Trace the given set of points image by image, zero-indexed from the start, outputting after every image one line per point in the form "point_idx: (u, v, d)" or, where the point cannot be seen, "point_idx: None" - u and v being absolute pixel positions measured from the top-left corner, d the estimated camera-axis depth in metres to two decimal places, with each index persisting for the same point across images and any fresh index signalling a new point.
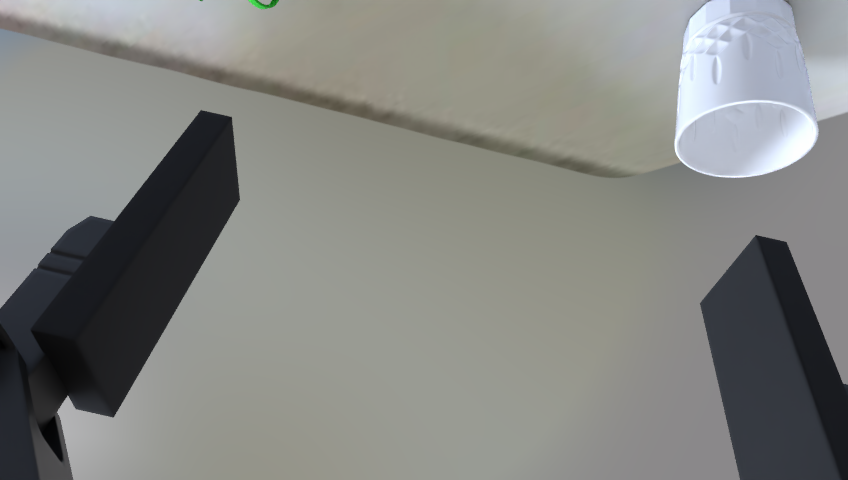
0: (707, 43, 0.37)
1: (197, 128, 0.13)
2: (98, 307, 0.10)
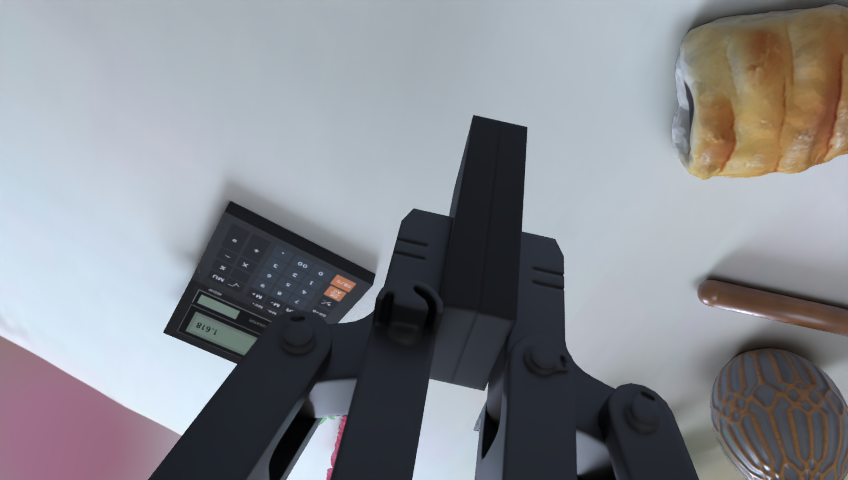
0: None
1: (478, 131, 0.15)
2: (481, 285, 0.12)
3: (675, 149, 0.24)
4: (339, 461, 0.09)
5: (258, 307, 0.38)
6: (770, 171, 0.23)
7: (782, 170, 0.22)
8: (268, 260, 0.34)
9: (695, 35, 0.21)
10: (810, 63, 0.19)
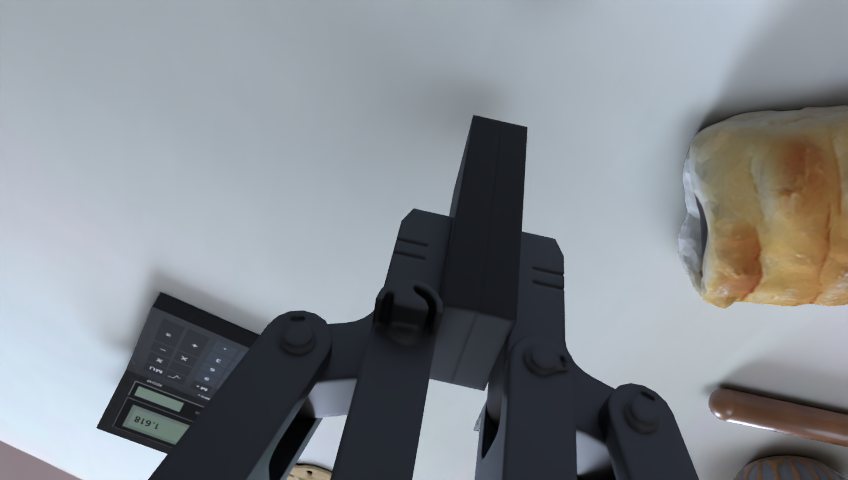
0: None
1: (478, 130, 0.15)
2: (481, 285, 0.12)
3: (683, 262, 0.20)
4: (339, 461, 0.09)
5: (204, 398, 0.33)
6: (804, 303, 0.18)
7: (820, 304, 0.17)
8: (209, 355, 0.30)
9: (709, 140, 0.16)
10: None
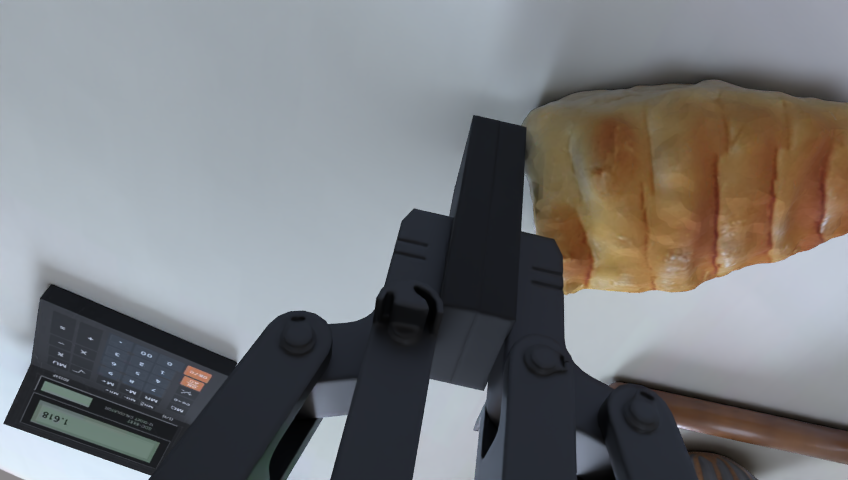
0: None
1: (478, 131, 0.15)
2: (482, 285, 0.12)
3: None
4: (339, 461, 0.09)
5: (113, 393, 0.33)
6: (648, 289, 0.17)
7: (662, 290, 0.17)
8: (107, 348, 0.29)
9: (533, 120, 0.16)
10: (671, 168, 0.14)
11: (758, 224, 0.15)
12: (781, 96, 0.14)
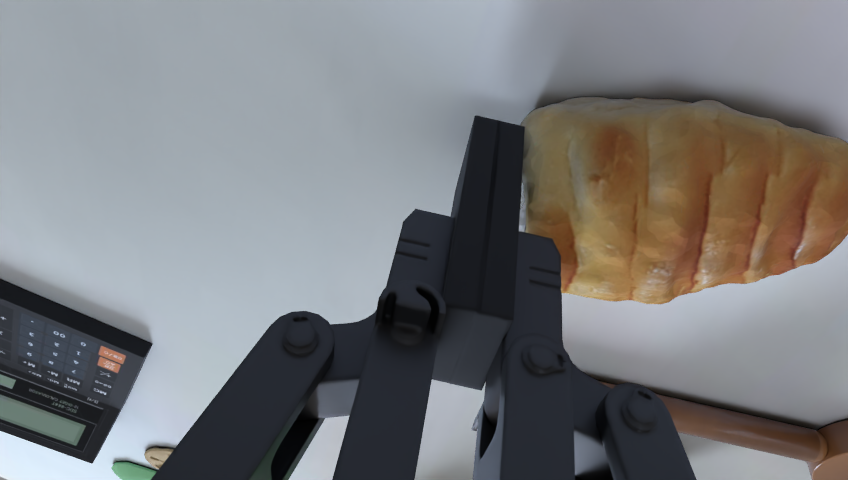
0: None
1: (480, 131, 0.15)
2: (484, 285, 0.12)
3: None
4: (341, 461, 0.09)
5: (36, 375, 0.33)
6: (624, 299, 0.17)
7: (638, 300, 0.17)
8: (21, 328, 0.29)
9: (534, 120, 0.15)
10: (667, 182, 0.14)
11: (740, 246, 0.15)
12: (775, 123, 0.14)
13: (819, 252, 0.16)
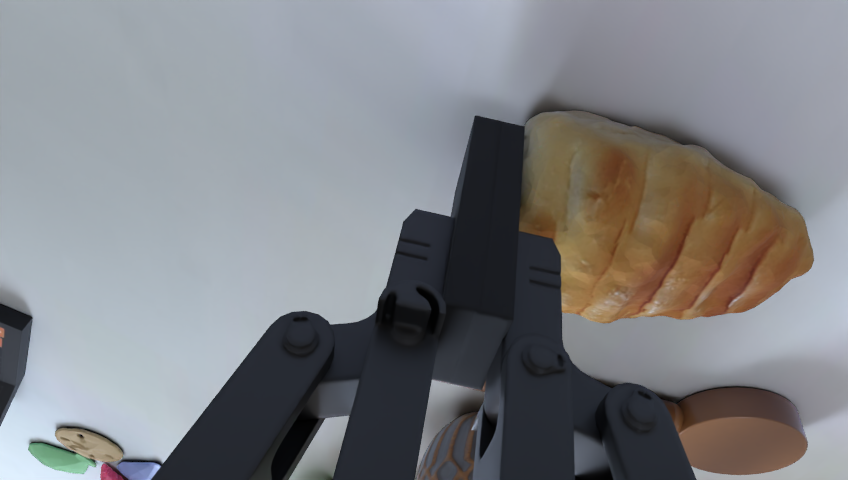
0: None
1: (480, 131, 0.15)
2: (484, 285, 0.12)
3: None
4: (341, 461, 0.09)
5: None
6: (572, 312, 0.18)
7: (585, 316, 0.18)
8: None
9: (544, 123, 0.15)
10: (657, 215, 0.15)
11: (694, 287, 0.16)
12: (752, 183, 0.16)
13: (749, 304, 0.18)
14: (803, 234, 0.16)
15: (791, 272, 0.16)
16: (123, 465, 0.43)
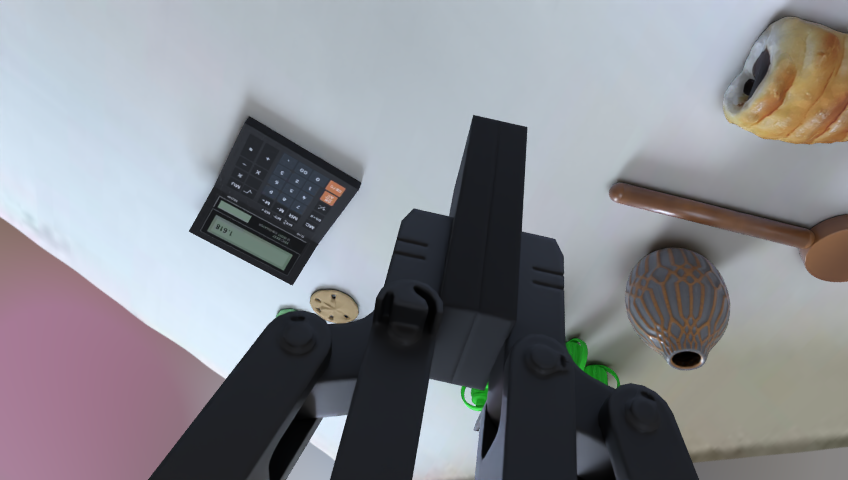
0: None
1: (478, 130, 0.15)
2: (481, 285, 0.12)
3: (725, 101, 0.34)
4: (339, 461, 0.09)
5: (266, 213, 0.47)
6: (784, 135, 0.33)
7: (792, 136, 0.32)
8: (276, 167, 0.44)
9: (790, 20, 0.30)
10: None
11: None
12: None
13: None
14: None
15: None
16: None
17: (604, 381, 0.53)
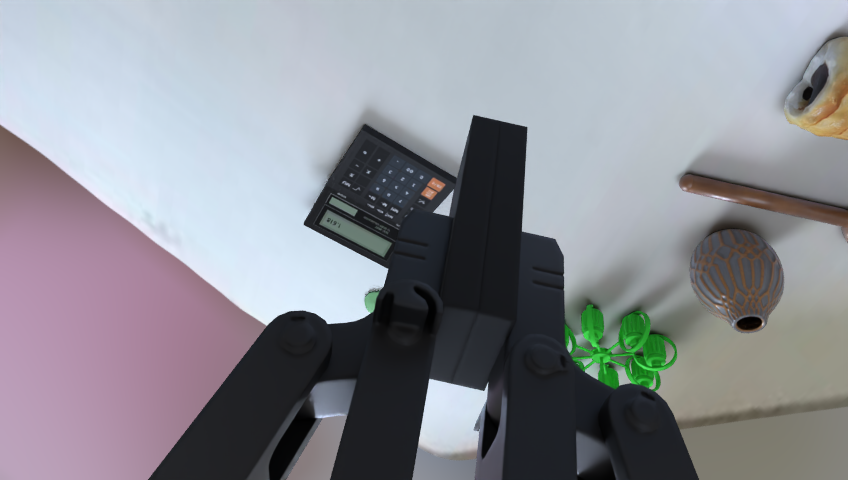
0: None
1: (478, 131, 0.15)
2: (481, 285, 0.12)
3: (786, 105, 0.40)
4: (339, 461, 0.09)
5: (370, 207, 0.54)
6: (837, 133, 0.39)
7: (844, 134, 0.39)
8: (386, 167, 0.50)
9: (845, 40, 0.37)
10: None
11: None
12: None
13: None
14: None
15: None
16: None
17: (662, 348, 0.60)
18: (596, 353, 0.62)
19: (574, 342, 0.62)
